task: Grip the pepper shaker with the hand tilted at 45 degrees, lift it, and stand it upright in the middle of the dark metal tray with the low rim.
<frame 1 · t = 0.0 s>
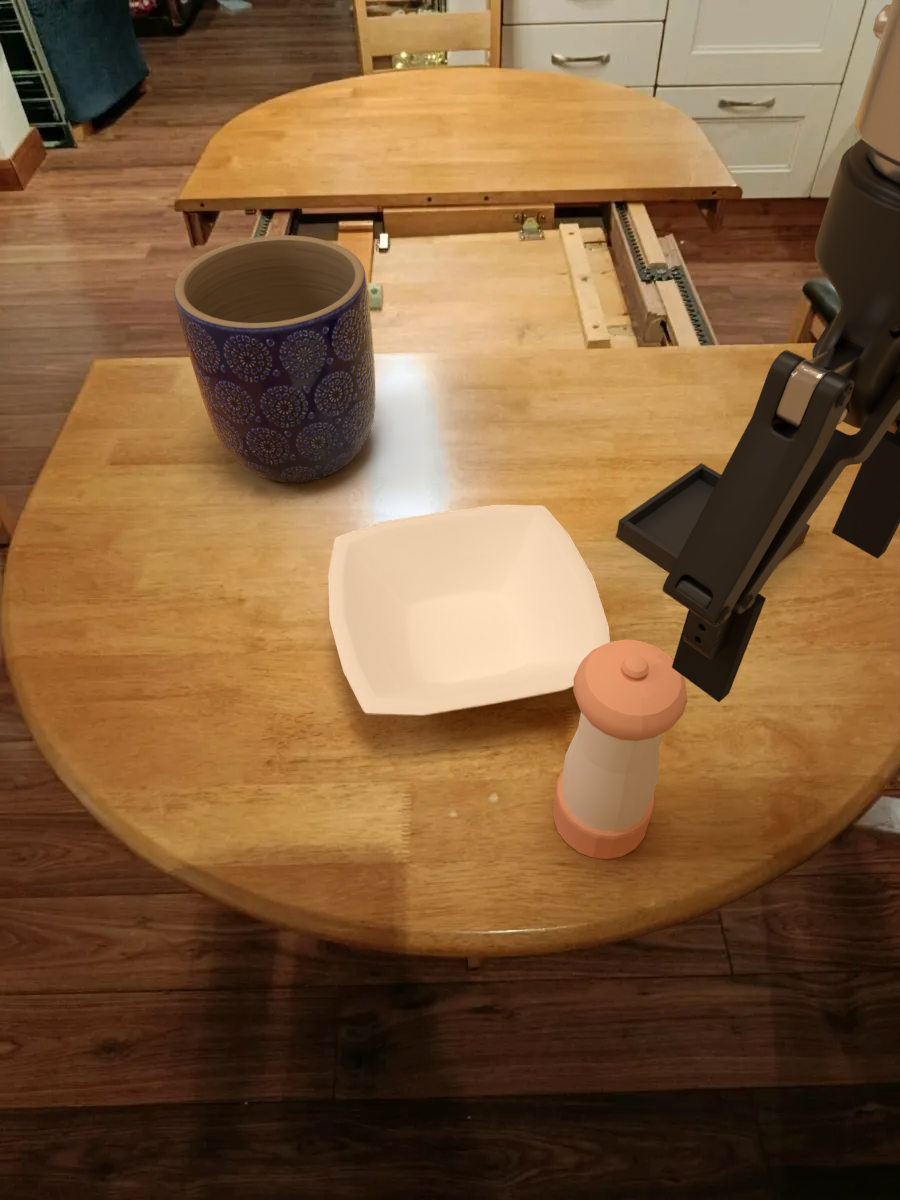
hand: (784, 607, 42), 28 cm above the table, tool pointing down, fingers open, 13 cm apart
bowl: (464, 640, 77), on the table
pepper shaker: (599, 816, 65), on the table
tray: (709, 539, 85), on the table
planter: (301, 451, 96), on the table
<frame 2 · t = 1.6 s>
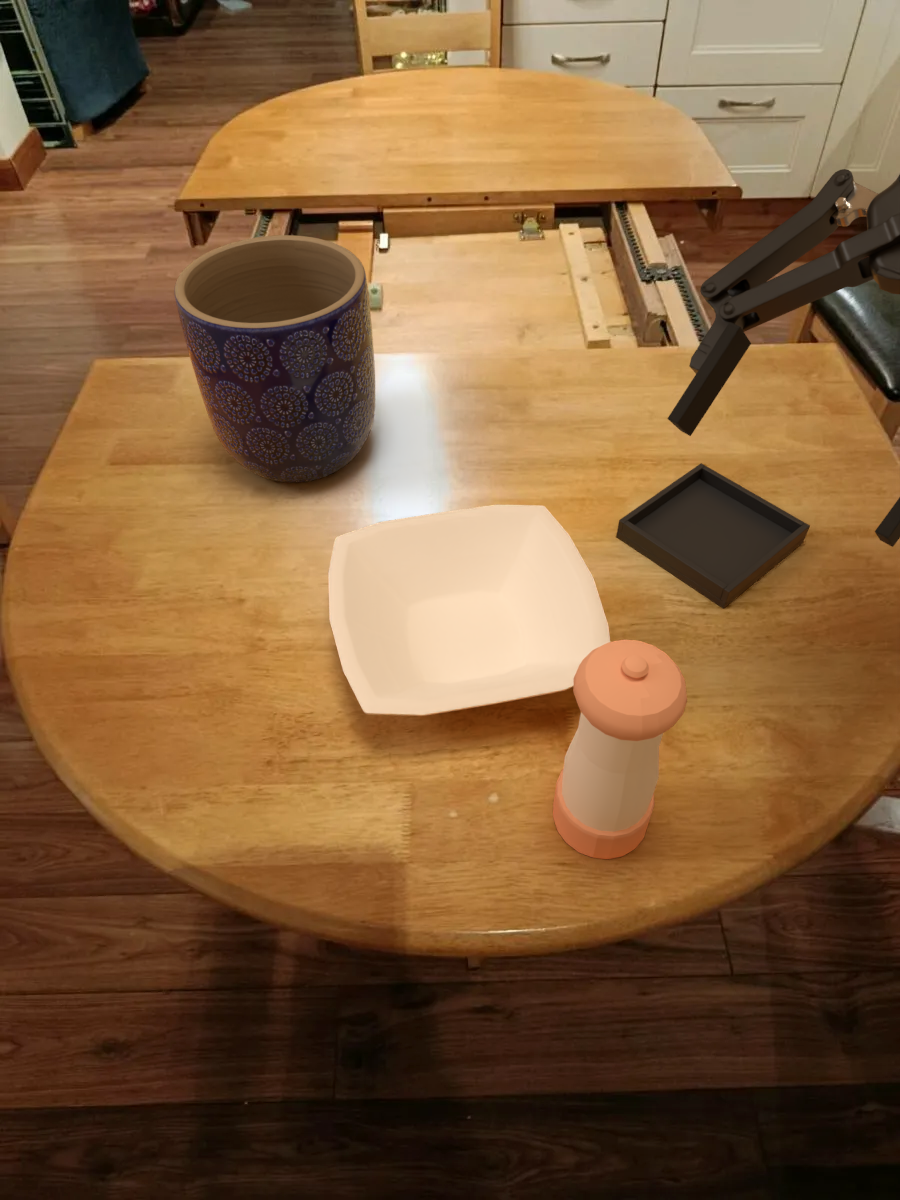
hand: (773, 480, 49), 28 cm above the table, tool tilted 45°, fingers open, 13 cm apart
nothing on the table moved.
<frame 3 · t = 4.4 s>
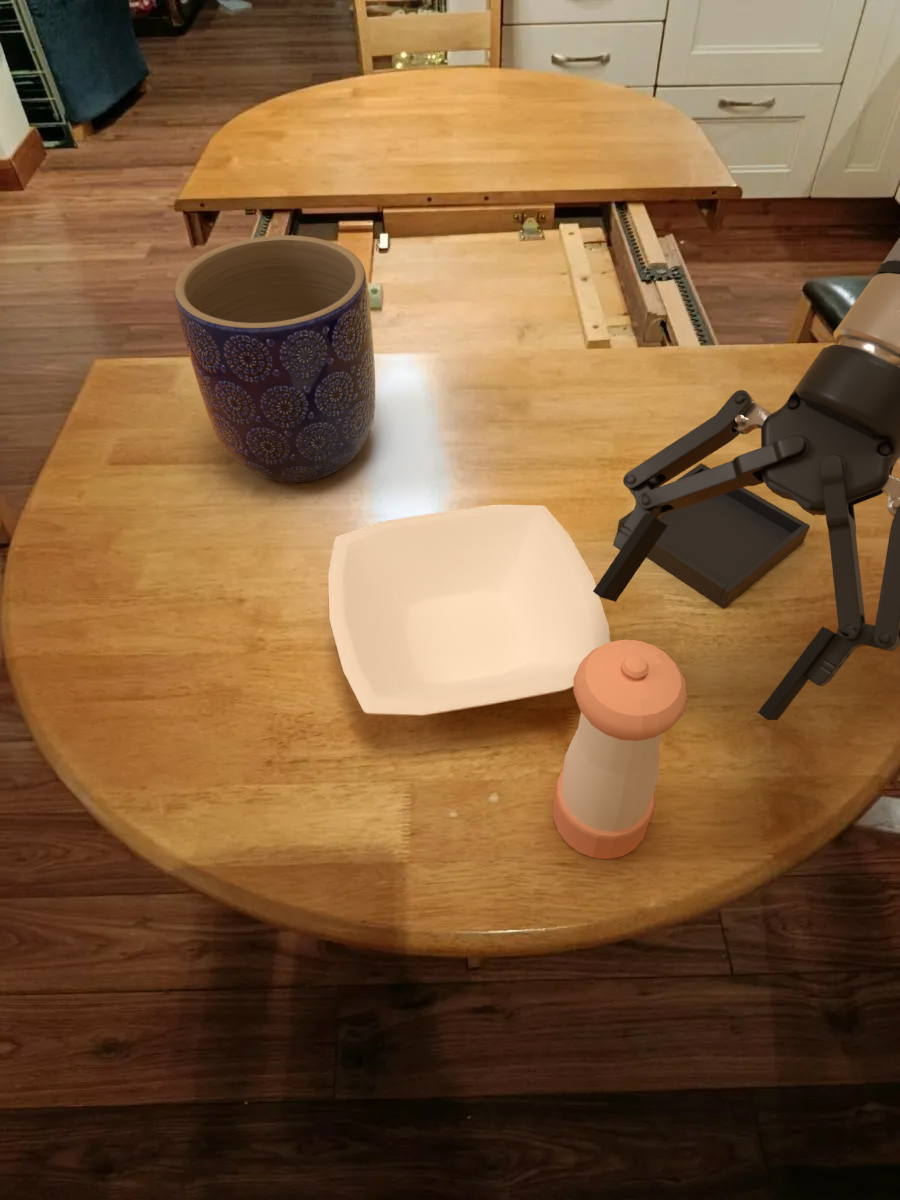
hand: (680, 653, 57), 15 cm above the table, tool tilted 45°, fingers open, 13 cm apart
nothing on the table moved.
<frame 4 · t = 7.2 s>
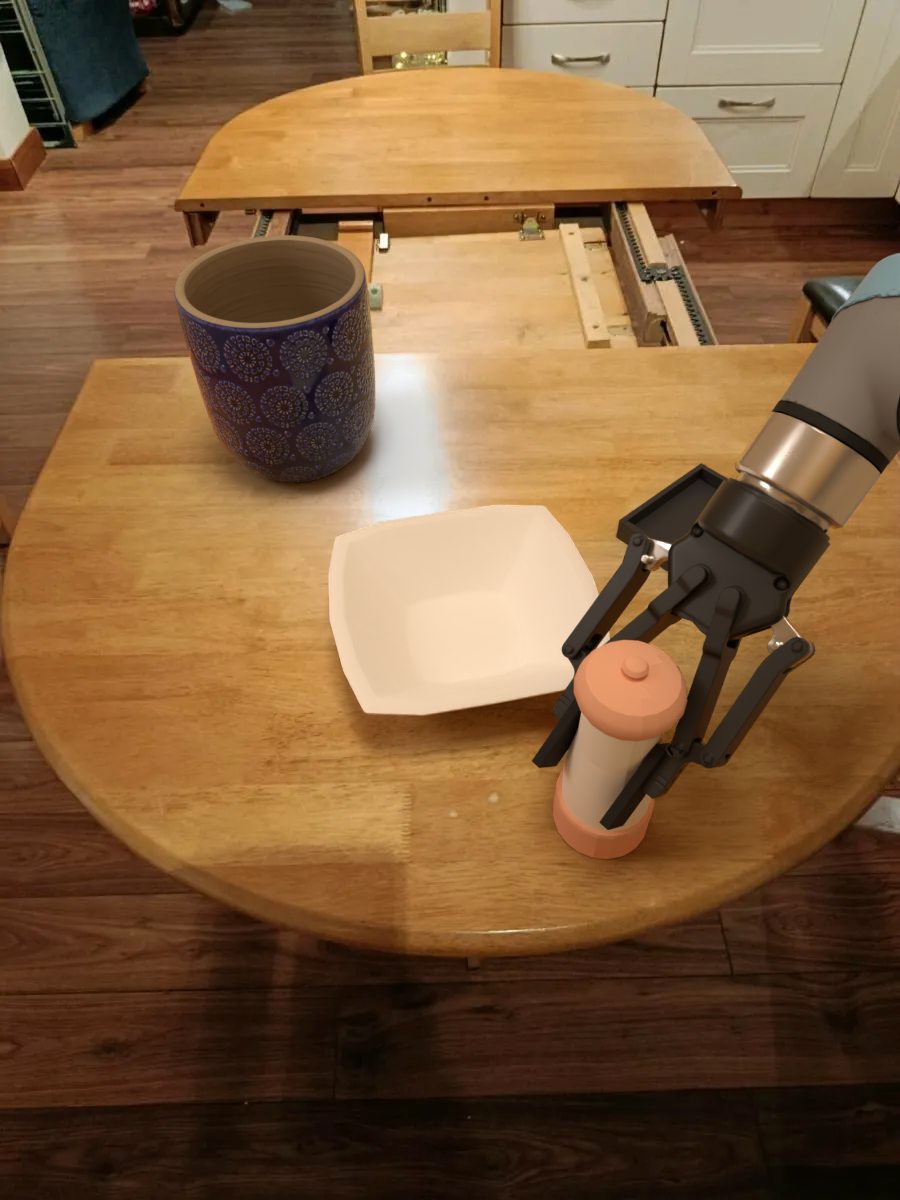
hand: (577, 792, 58), 8 cm above the table, tool tilted 45°, fingers closed on pepper shaker, 5 cm apart
pepper shaker: (599, 816, 65), on the table, touching gripper
everything else where it was.
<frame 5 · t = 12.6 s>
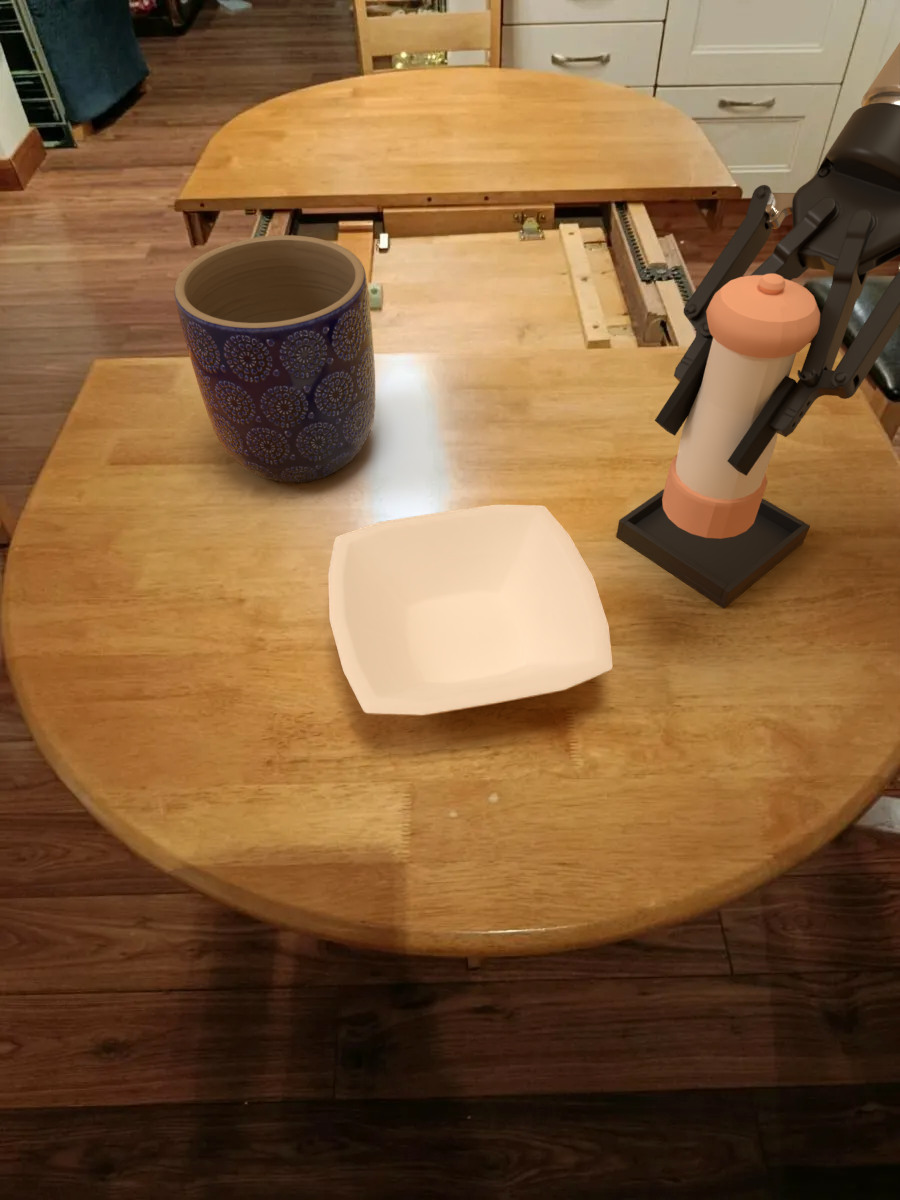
hand: (700, 447, 59), 22 cm above the table, tool tilted 45°, fingers closed on pepper shaker, 5 cm apart
pepper shaker: (708, 508, 67), point 14 cm above the table, touching gripper
everything else where it was.
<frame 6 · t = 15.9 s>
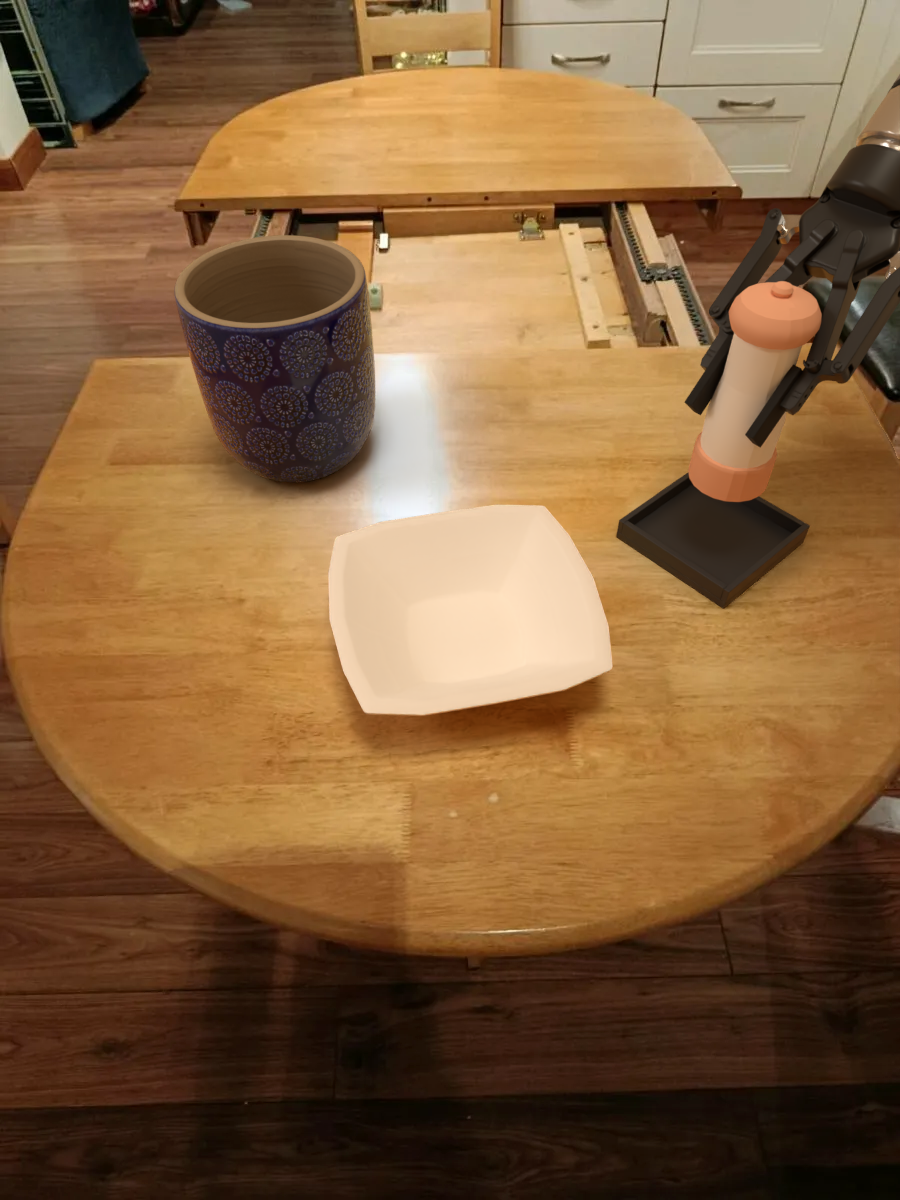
hand: (722, 424, 72), 16 cm above the table, tool tilted 45°, fingers closed on pepper shaker, 5 cm apart
pepper shaker: (727, 478, 80), point 8 cm above the table, touching gripper
everything else where it was.
when the fingers open (9 cm above the table, at t = 18.3 s): pepper shaker stays where it is, resting on tray.
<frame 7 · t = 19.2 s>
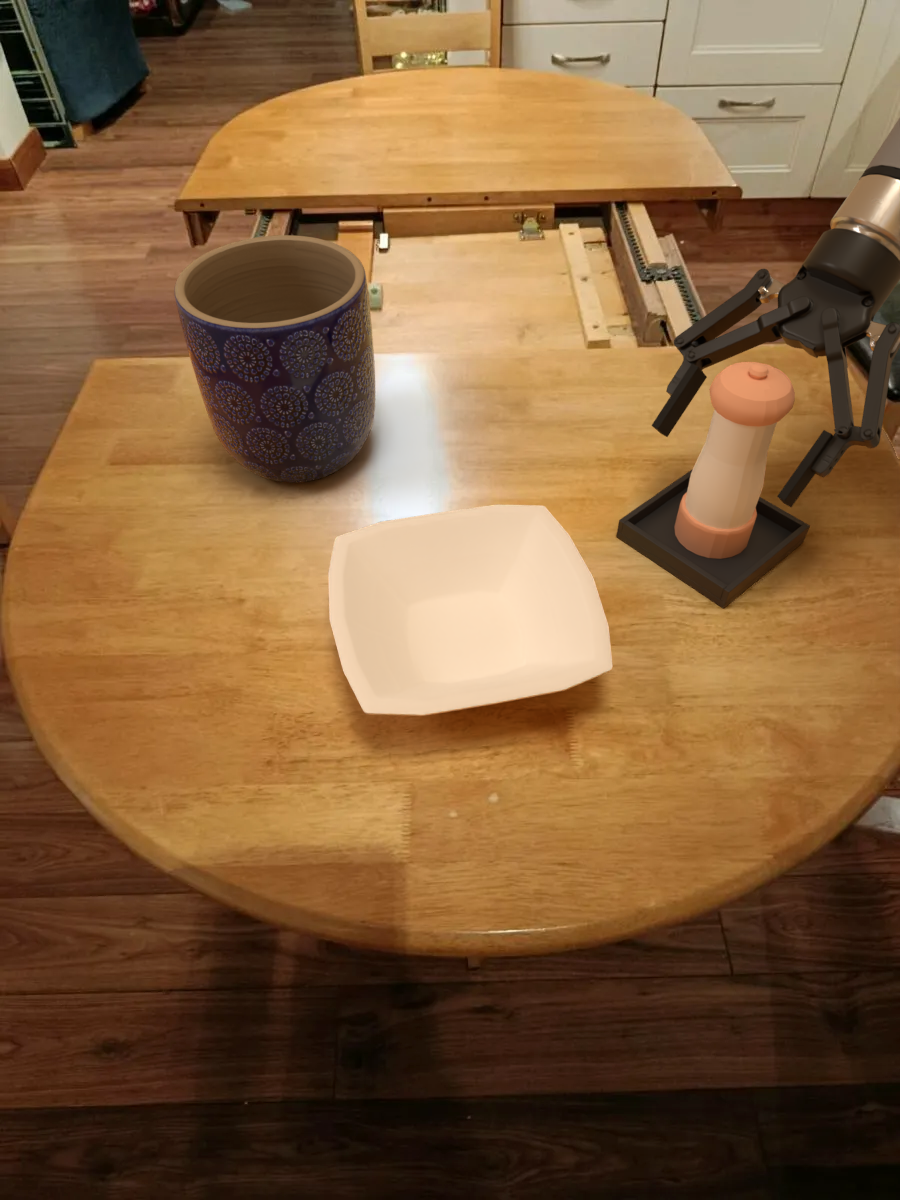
hand: (718, 465, 76), 11 cm above the table, tool tilted 45°, fingers open, 13 cm apart
pepper shaker: (710, 534, 85), point 1 cm above the table, touching tray
everything else where it was.
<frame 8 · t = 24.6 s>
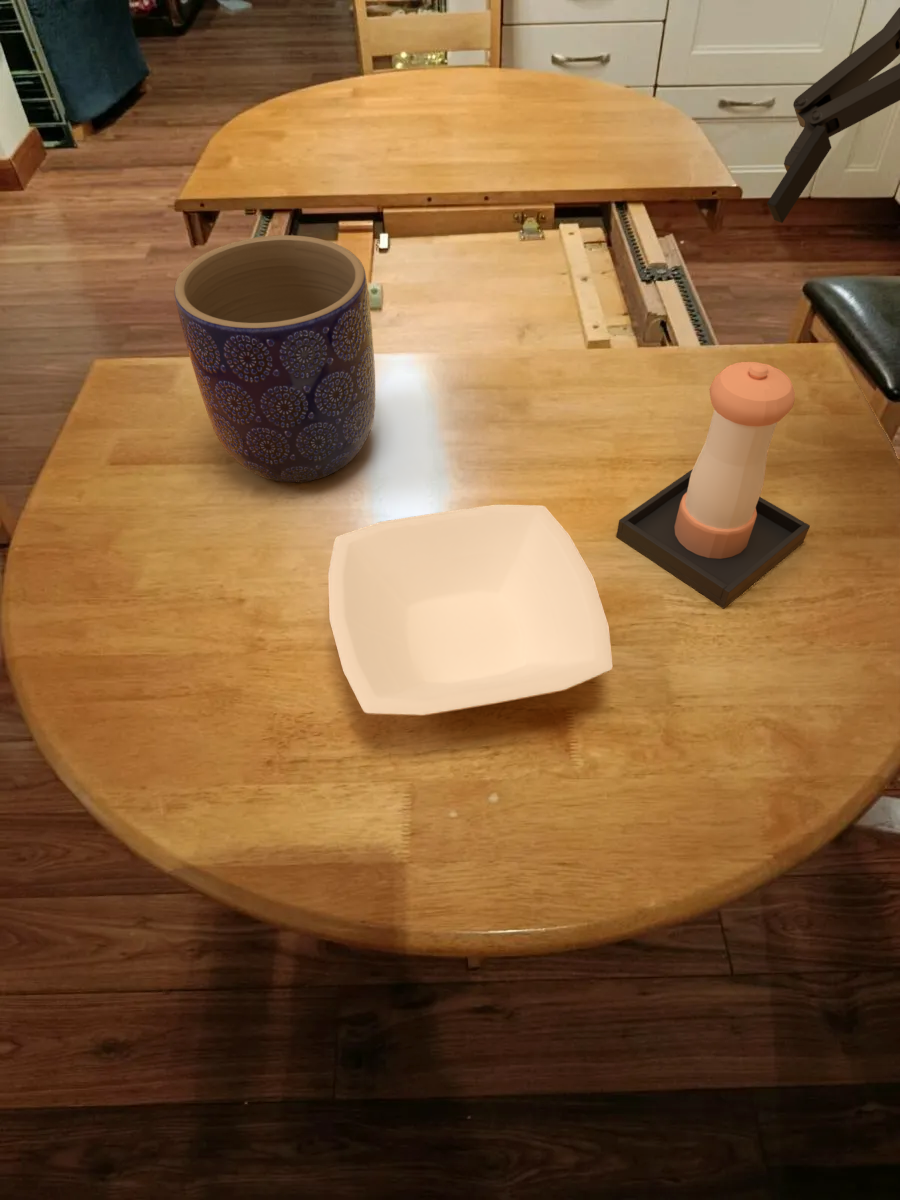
hand: (851, 242, 64), 30 cm above the table, tool tilted 45°, fingers open, 13 cm apart
nothing on the table moved.
at the end: pepper shaker inside the target area in the tray (0.1 cm from its centre), point 0.6 cm above the tray's base; pepper shaker tilted 0°; the gripper is holding nothing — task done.
